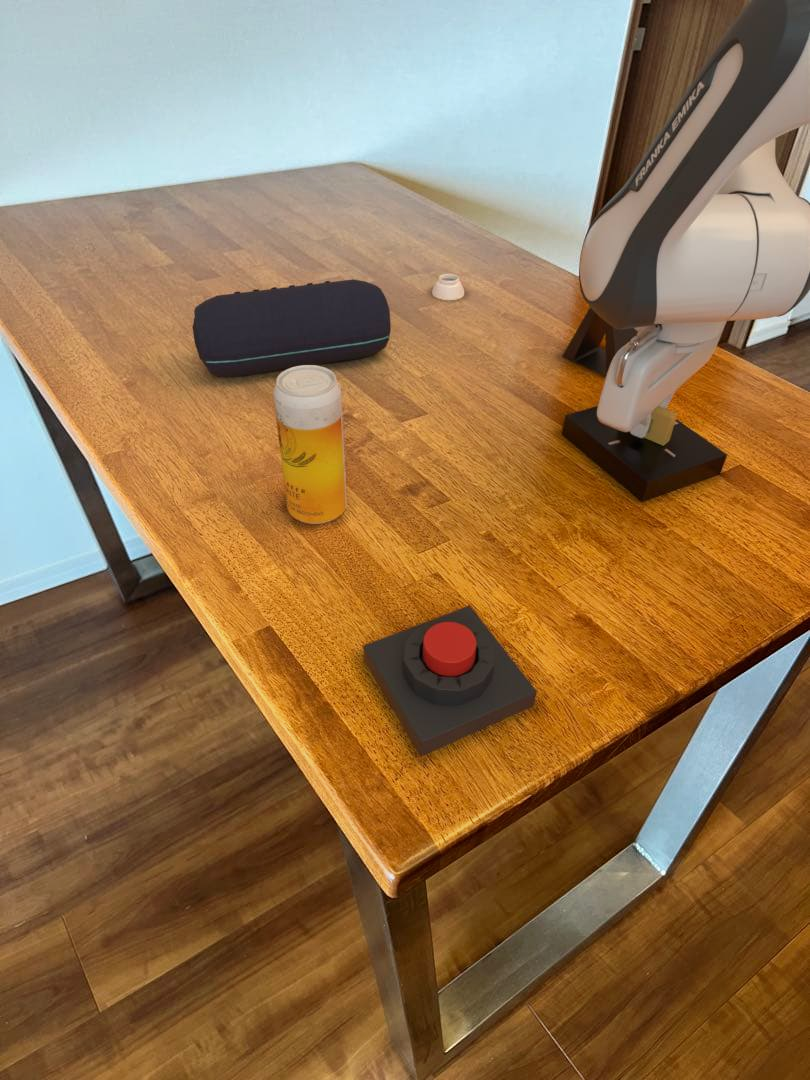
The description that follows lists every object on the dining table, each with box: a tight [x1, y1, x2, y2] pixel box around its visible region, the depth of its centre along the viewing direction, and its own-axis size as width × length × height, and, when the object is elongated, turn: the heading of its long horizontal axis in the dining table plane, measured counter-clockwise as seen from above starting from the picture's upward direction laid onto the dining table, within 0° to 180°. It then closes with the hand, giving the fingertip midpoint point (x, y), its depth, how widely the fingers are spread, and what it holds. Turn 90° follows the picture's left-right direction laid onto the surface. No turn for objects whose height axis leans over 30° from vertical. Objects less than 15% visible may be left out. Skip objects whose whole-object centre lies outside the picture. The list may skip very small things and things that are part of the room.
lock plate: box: [561, 405, 728, 503], centre depth 81 cm, size 14×11×3 cm
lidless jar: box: [431, 273, 465, 301], centre depth 113 cm, size 5×3×5 cm
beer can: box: [272, 365, 348, 525], centre depth 70 cm, size 6×6×15 cm
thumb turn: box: [644, 406, 678, 446], centre depth 79 cm, size 6×1×4 cm, turn 47°
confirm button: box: [423, 622, 476, 677], centre depth 56 cm, size 4×4×2 cm
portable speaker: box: [191, 278, 392, 377], centre depth 94 cm, size 25×10×10 cm, turn 109°
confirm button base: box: [362, 605, 538, 757], centre depth 57 cm, size 10×10×4 cm
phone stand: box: [561, 306, 638, 377], centre depth 94 cm, size 9×6×12 cm, turn 43°
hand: (645, 428), depth 80 cm, fingers closed on thumb turn
